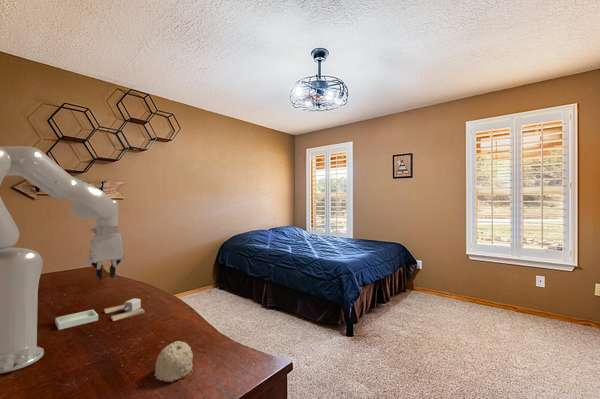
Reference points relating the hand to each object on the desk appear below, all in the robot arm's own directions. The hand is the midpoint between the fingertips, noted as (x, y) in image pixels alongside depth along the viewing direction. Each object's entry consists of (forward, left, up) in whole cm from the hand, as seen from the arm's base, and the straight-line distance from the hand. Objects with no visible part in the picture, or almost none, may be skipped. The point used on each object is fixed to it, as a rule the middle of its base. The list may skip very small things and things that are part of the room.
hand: (105, 277), depth 113 cm
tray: (+2, +9, -15) cm, 18 cm away
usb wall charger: (0, -9, -16) cm, 18 cm away
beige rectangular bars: (0, -6, -15) cm, 17 cm away
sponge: (-56, -3, -16) cm, 58 cm away
